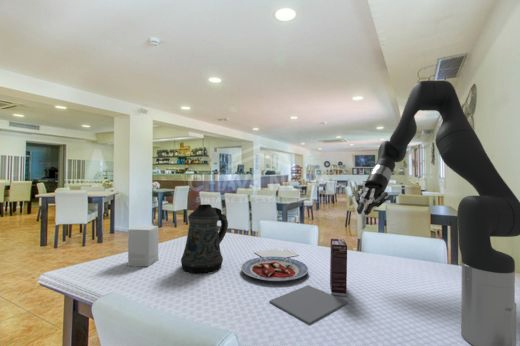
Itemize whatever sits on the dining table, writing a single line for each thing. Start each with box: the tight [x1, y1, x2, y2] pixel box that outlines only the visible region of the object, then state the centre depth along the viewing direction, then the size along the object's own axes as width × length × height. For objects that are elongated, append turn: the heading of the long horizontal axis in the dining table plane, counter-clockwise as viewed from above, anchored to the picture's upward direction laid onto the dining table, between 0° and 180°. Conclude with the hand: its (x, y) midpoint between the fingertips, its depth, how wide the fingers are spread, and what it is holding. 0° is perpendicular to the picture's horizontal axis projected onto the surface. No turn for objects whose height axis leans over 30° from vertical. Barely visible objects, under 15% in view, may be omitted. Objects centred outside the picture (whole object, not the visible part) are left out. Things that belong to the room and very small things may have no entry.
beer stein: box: [180, 203, 229, 275], centre depth 109 cm, size 16×19×25 cm
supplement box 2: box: [127, 225, 159, 267], centre depth 112 cm, size 9×9×15 cm
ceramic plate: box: [240, 256, 309, 282], centre depth 103 cm, size 26×26×3 cm
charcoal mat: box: [269, 284, 349, 325], centre depth 78 cm, size 15×18×1 cm
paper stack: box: [253, 248, 298, 258], centre depth 132 cm, size 23×25×1 cm
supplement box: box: [329, 238, 348, 297], centre depth 87 cm, size 9×5×16 cm, turn 168°
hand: (362, 213), depth 97 cm, fingers closed
